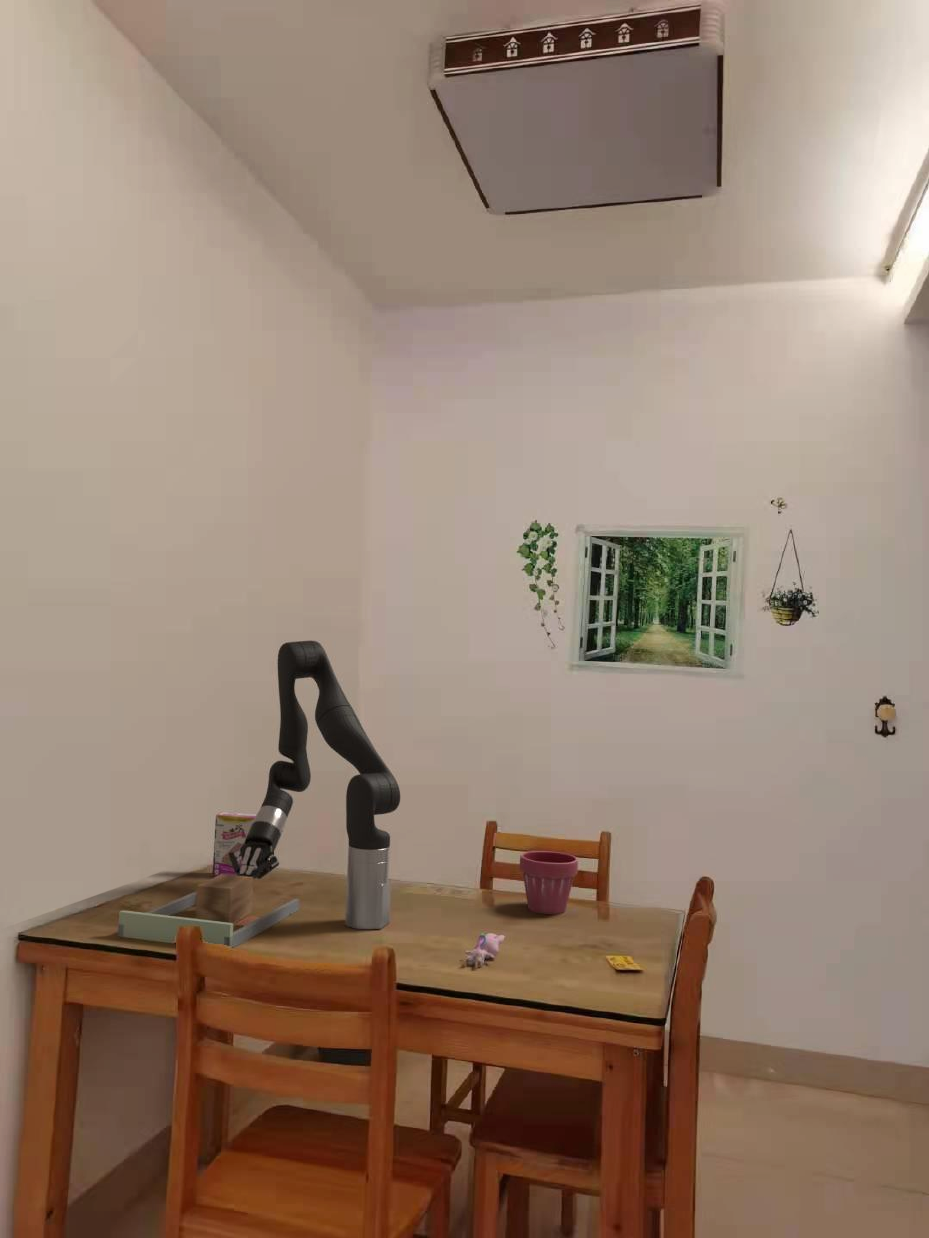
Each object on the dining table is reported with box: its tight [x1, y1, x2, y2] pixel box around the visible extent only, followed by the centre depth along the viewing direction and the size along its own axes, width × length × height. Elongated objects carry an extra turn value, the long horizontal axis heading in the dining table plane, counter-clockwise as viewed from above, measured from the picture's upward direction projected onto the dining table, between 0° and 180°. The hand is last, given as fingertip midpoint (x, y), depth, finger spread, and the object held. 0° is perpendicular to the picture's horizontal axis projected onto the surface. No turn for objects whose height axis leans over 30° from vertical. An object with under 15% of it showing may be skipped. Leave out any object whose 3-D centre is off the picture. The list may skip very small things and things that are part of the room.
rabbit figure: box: [462, 932, 506, 970], centre depth 187 cm, size 6×6×15 cm
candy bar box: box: [212, 811, 257, 877], centre depth 250 cm, size 11×5×16 cm, turn 84°
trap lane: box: [117, 891, 300, 949], centre depth 205 cm, size 25×33×5 cm
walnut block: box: [194, 874, 254, 924], centre depth 210 cm, size 8×12×8 cm, turn 169°
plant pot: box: [518, 850, 579, 915], centre depth 228 cm, size 14×14×13 cm
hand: (240, 891), depth 217 cm, fingers closed
